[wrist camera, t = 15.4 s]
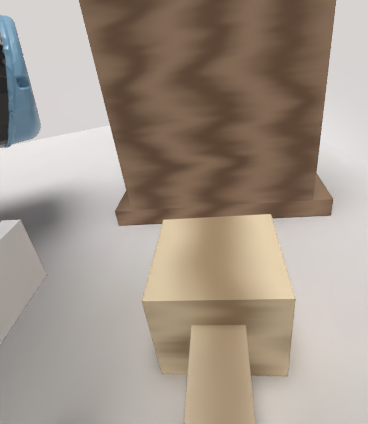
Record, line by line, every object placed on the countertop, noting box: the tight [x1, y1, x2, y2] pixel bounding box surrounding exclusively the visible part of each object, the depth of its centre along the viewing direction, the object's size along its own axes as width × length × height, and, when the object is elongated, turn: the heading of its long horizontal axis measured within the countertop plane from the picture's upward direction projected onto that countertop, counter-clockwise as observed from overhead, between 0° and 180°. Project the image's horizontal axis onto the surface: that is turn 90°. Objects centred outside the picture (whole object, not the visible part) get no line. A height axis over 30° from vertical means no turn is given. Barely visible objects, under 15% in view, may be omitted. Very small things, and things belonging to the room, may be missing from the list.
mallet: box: [142, 214, 295, 424], centre depth 15 cm, size 8×21×7 cm, turn 175°
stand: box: [79, 0, 336, 225], centre depth 30 cm, size 24×7×30 cm, turn 85°
